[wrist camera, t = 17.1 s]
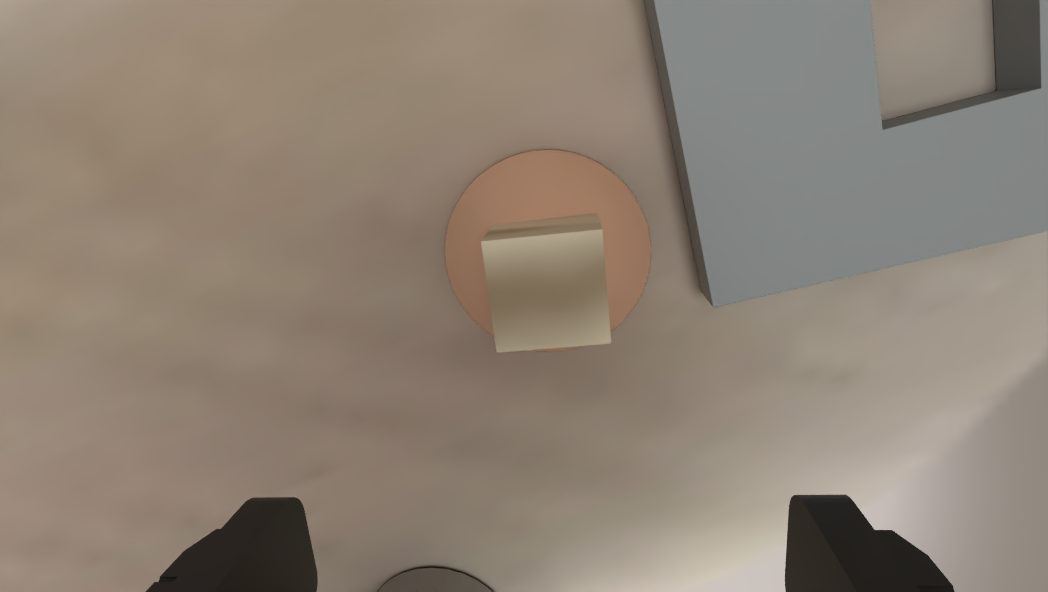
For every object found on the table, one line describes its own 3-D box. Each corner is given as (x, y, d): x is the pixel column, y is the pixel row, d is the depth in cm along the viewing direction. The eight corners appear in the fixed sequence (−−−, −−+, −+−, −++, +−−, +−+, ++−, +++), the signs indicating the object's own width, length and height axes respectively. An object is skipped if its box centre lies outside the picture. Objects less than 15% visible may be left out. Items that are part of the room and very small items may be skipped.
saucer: (666, 318, 29) (669, 327, 28) (481, 360, 31) (478, 370, 30) (623, 123, 27) (625, 124, 26) (423, 180, 28) (417, 183, 27)
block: (605, 312, 28) (611, 343, 24) (506, 321, 29) (496, 352, 25) (597, 213, 27) (602, 229, 23) (492, 223, 27) (480, 241, 24)
